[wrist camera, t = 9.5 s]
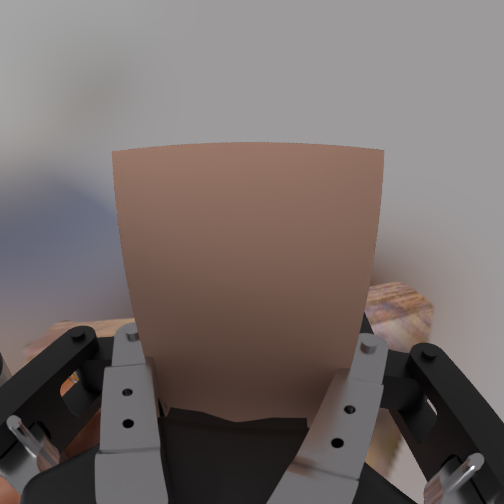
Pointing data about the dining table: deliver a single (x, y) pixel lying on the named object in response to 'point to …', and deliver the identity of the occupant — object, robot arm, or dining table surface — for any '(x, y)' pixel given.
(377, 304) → the dining table surface
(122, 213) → the terracotta block
